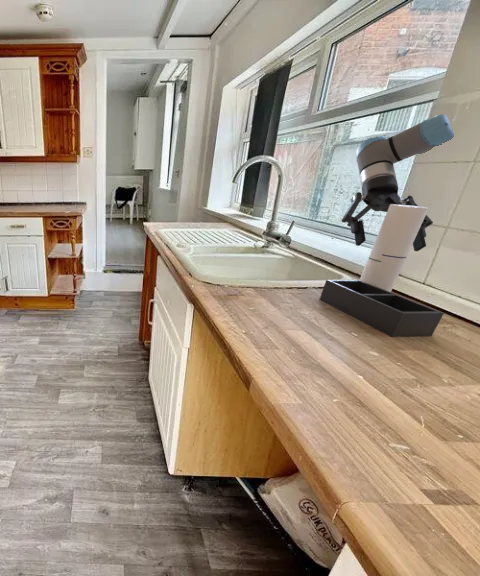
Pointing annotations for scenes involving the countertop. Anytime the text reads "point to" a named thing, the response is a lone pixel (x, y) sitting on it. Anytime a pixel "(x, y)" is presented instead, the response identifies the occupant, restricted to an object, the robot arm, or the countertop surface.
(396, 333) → the divided tray
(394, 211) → the cylindrical container
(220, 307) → the countertop surface
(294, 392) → the countertop surface
